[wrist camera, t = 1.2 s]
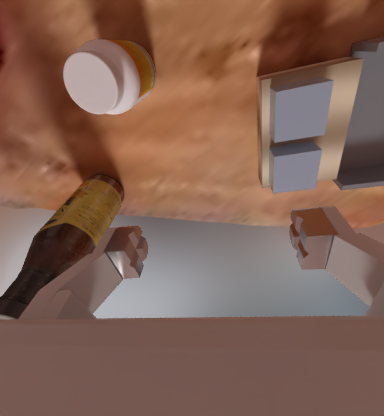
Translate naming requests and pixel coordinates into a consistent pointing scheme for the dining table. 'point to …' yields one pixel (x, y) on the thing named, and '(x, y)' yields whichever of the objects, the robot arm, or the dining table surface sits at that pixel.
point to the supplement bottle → (109, 75)
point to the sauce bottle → (64, 241)
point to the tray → (365, 122)
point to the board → (337, 116)
